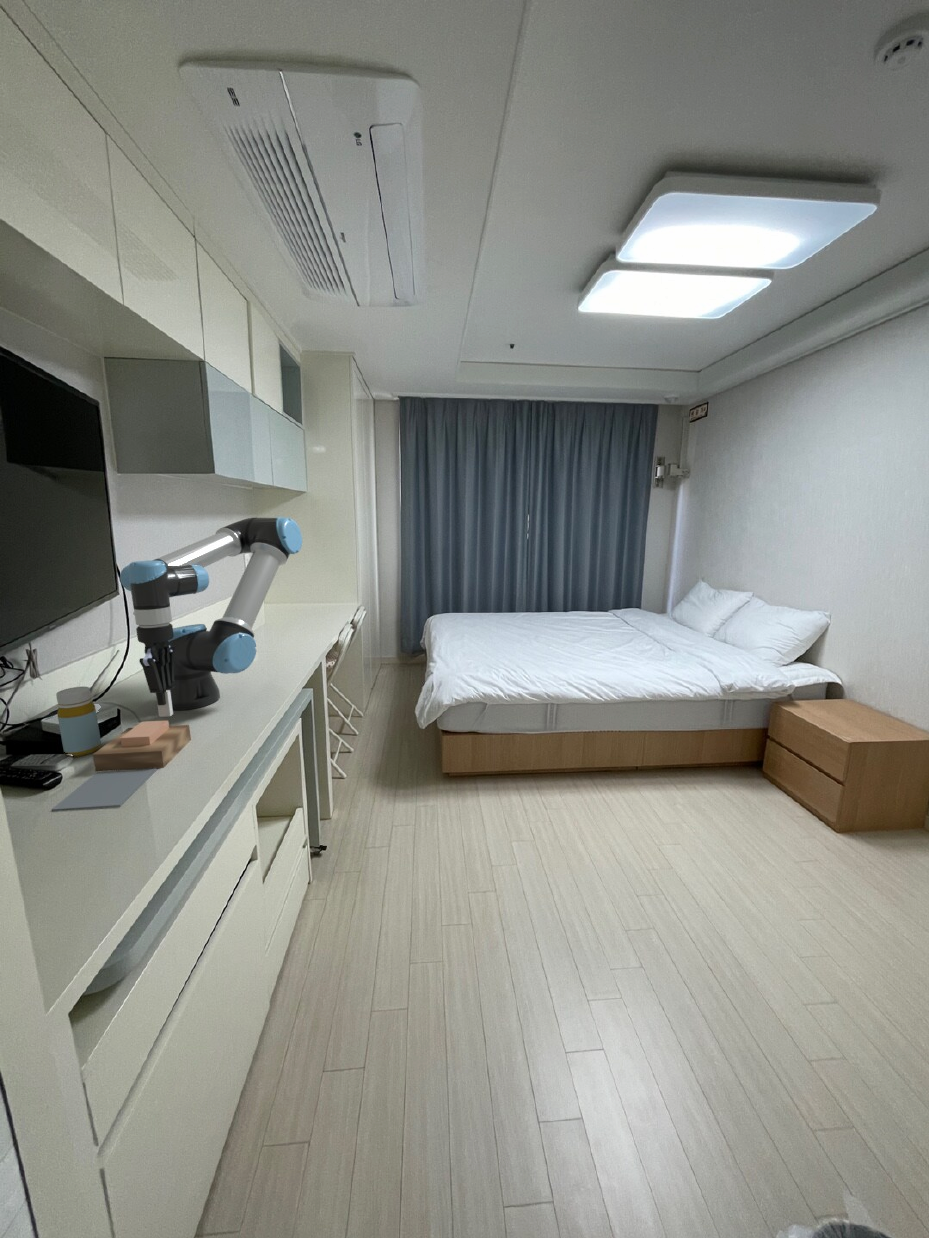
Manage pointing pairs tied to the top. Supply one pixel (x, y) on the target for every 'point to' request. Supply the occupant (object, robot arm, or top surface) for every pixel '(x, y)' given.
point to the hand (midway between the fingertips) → (166, 715)
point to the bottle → (78, 721)
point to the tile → (144, 733)
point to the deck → (142, 751)
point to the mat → (105, 790)
